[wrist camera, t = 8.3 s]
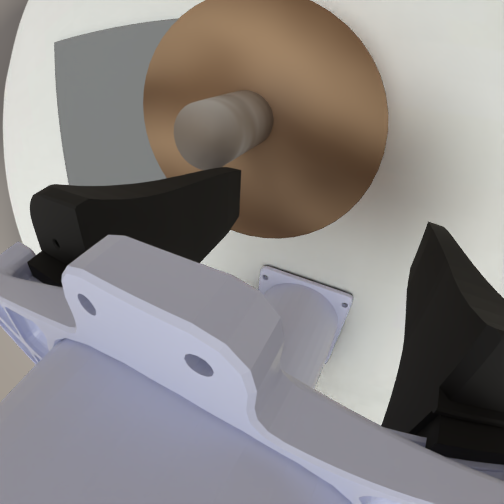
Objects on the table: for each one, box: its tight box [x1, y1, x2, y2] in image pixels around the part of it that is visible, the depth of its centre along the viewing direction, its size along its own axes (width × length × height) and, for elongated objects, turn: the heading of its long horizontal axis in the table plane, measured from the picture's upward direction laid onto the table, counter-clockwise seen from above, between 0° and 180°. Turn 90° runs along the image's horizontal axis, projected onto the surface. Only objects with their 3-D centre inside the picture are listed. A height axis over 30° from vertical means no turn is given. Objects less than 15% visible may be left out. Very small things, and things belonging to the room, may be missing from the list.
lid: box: [143, 0, 388, 238], centre depth 14 cm, size 14×14×5 cm
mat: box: [54, 19, 178, 186], centre depth 26 cm, size 18×18×1 cm
